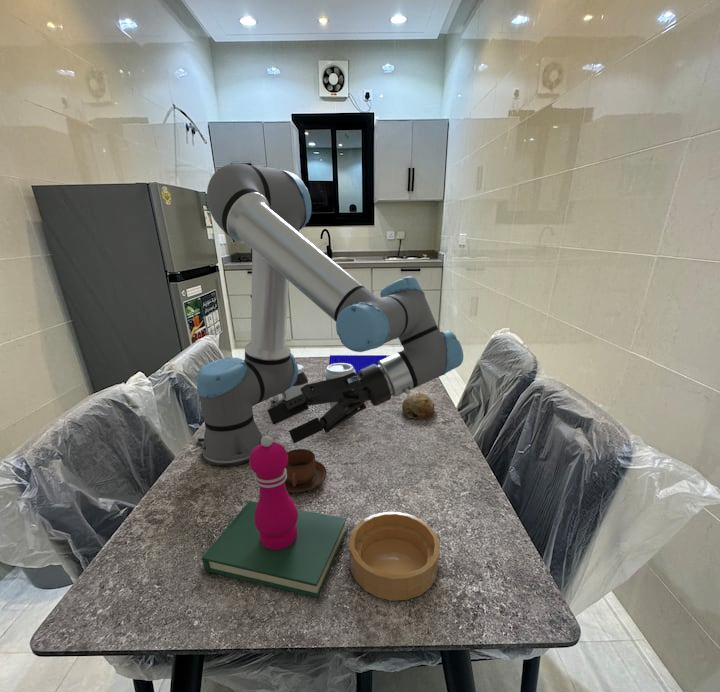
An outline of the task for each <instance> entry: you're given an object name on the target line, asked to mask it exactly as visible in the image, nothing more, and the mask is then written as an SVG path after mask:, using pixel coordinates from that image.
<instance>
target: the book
mask: <svg viewBox="0 0 720 692" xmlns="http://www.w3.org/2000/svg"><path fill="white" fill-rule="evenodd" d="M257 504H258V501H253V500H249V501H248V502H247V503H246V504H245V505H244V507H243V508H242V509H241V510H240V511H239V513H238V514H237V515H236V516H235V517H234V519H233V520H232V521H231V522H230V523H229V525H228V526H227V527H226V528H225V530H223V532H222V533H221V534H220V535H219V536H218V538H217V539H216V540H215V541H214V542H213V544H212V545H211V546H210V547H209V548H208V550H207V551H206V552H205V553H203V554H204V555H202V556H201V560H202V564H203V568H204V571H205V572H208V573H212V574H216V575H221V576H224V577H229V578H232V579H236V580H241V581H244V582H249V583H254V584H257V585H261V586H266V587H270V588H274V589H278V590H282V591H287V592H290V593H295V594H298V595H304V596H308V597H311V598H316V599H318V598H319V596H320V594H321V592H322V590H323V587H324V585H325V583H326V580H327V578H328V576H329V573H330V571H331V568H332V566H333V564H334V561H335V559H336V557H337V555H338V552H339V550H340V548H341V546H342V544H343V541H344V539H345V536H346V534H347V532H348V529H347V528H346V522H347V517H341V516H335V515H331V514H330V515H329V514H325V513H318V512H313V511H308V510H303V509H297V512H298V520H297V522H296V529H297V537H296V539H295V541H294V542H293V543H292V544H291V545H290V546H288V547H286V548H283V549H280V550H271V549H268V548H266V547H264V546H263V545H262V543H261V540H260V531H259V530H258V529H257V528H256V526H255V520H254V516H255V510H256V507H257Z"/></svg>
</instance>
